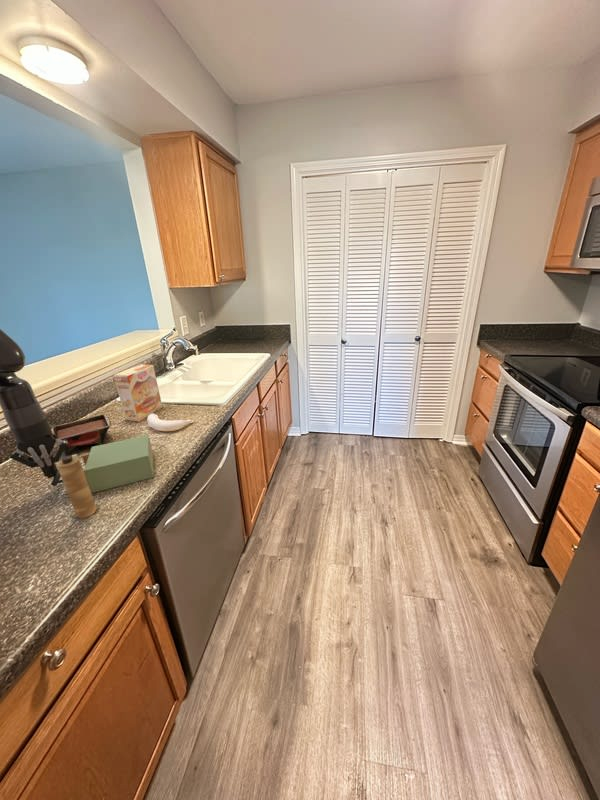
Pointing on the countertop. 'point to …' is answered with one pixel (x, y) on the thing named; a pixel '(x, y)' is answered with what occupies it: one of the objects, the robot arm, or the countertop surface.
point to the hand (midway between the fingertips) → (52, 475)
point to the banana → (166, 423)
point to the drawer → (57, 476)
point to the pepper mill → (76, 486)
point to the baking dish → (83, 431)
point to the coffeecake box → (138, 392)
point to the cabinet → (119, 463)
